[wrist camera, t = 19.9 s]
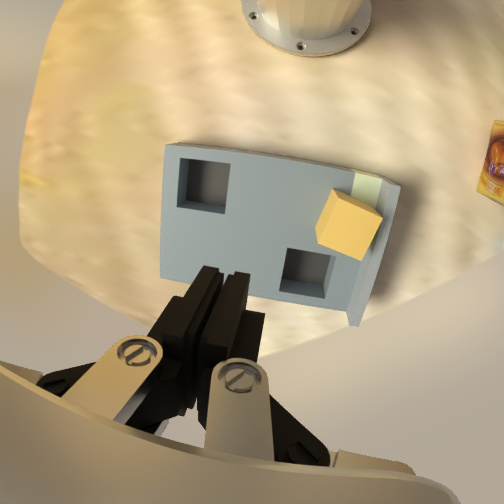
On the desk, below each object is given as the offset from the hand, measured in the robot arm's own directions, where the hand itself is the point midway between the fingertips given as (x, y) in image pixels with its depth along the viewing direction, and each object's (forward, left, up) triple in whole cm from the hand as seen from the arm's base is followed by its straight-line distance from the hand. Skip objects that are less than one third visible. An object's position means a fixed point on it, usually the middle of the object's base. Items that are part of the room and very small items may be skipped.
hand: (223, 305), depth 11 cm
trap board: (+4, 0, -21) cm, 21 cm away
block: (+1, +7, -18) cm, 19 cm away
